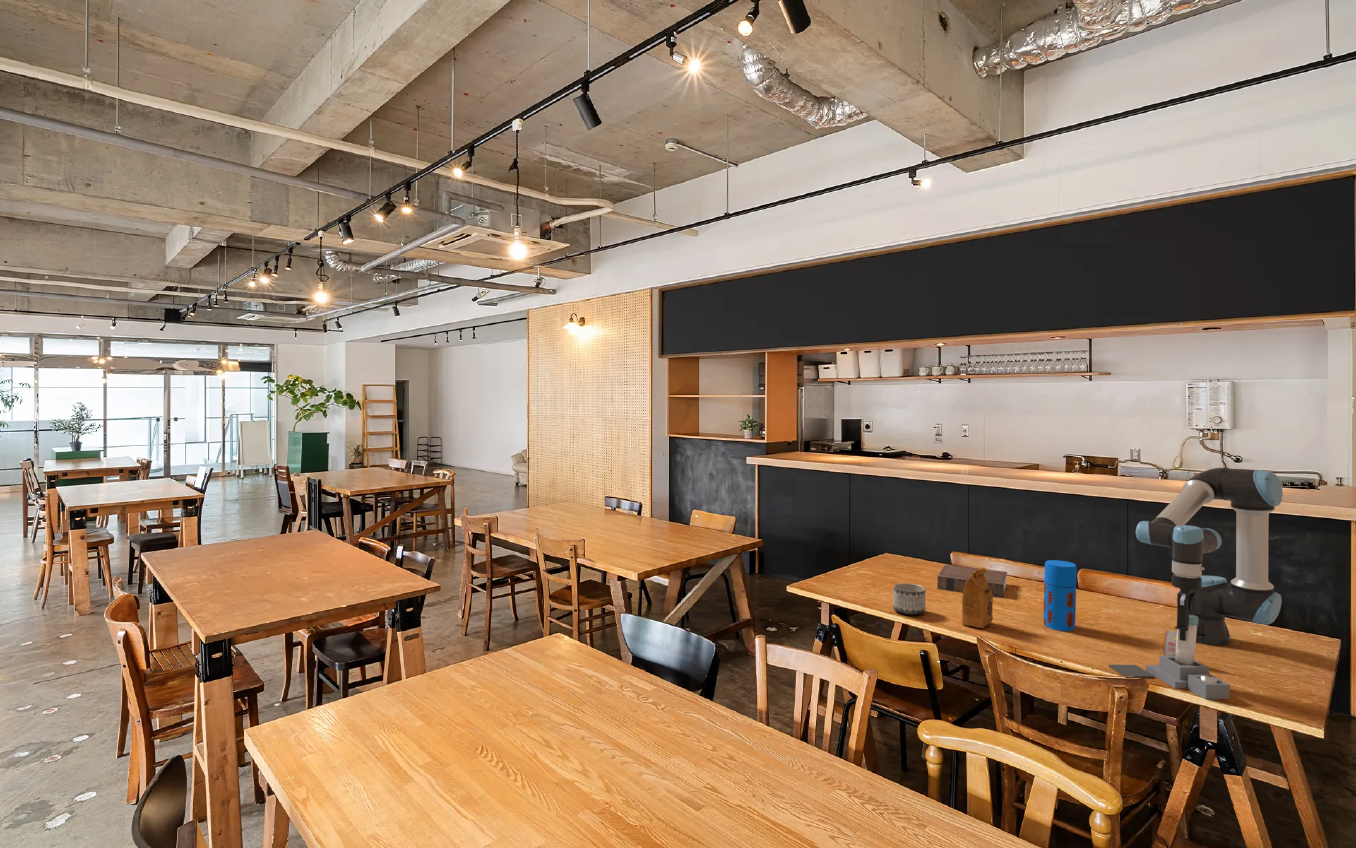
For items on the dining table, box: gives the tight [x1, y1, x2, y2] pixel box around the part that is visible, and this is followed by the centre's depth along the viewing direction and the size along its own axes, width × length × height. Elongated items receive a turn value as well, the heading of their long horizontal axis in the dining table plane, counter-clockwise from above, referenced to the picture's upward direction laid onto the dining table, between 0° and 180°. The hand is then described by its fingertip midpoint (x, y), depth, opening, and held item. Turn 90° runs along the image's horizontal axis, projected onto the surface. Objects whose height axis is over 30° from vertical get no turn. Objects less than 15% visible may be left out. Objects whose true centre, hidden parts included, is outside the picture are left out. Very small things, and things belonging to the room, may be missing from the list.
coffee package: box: [961, 567, 994, 629], centre depth 262 cm, size 10×12×22 cm
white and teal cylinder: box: [1175, 614, 1198, 666], centre depth 210 cm, size 5×5×16 cm
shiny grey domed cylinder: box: [1200, 673, 1218, 683], centre depth 200 cm, size 4×4×5 cm
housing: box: [1145, 655, 1231, 700], centre depth 207 cm, size 20×14×6 cm
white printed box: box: [1163, 629, 1177, 656], centre depth 225 cm, size 4×7×10 cm, turn 39°
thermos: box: [1043, 559, 1078, 632], centre depth 259 cm, size 11×11×25 cm
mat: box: [1108, 664, 1156, 679], centre depth 217 cm, size 9×9×1 cm
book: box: [937, 564, 1008, 599], centre depth 314 cm, size 24×28×6 cm
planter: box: [892, 582, 927, 616], centre depth 277 cm, size 13×13×10 cm
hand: (1184, 647), depth 210 cm, fingers closed on white and teal cylinder, 5 cm apart
